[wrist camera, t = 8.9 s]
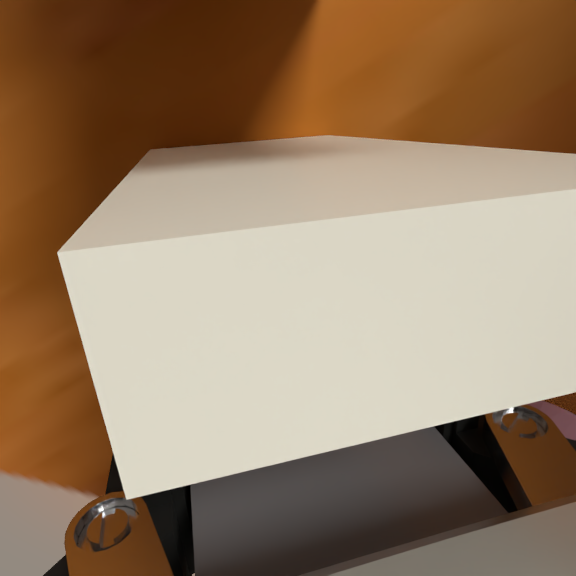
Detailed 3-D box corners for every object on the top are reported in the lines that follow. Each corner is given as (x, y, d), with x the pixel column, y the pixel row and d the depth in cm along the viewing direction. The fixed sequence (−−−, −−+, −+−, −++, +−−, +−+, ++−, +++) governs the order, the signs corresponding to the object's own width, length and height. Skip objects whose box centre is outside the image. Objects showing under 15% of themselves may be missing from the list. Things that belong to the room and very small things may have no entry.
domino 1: (149, 149, 11) (57, 252, 2) (327, 135, 12) (752, 167, 3) (161, 216, 12) (126, 501, 3) (329, 197, 13) (684, 366, 4)
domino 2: (182, 334, 13) (206, 786, 4) (333, 309, 14) (610, 630, 5) (190, 382, 14) (225, 861, 5) (334, 355, 15) (580, 710, 6)
